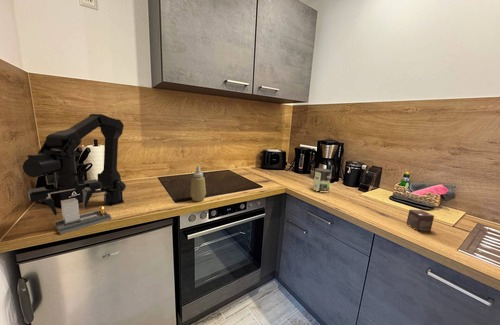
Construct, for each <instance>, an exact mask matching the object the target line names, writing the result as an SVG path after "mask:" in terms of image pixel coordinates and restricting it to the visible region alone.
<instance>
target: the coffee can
mask: <svg viewBox="0 0 500 325" xmlns="http://www.w3.org/2000/svg"><path fill="white" fill-rule="evenodd" d="M332 172H333V171H332V169H329V168H323V167H319V168H318V167H317V168H314V178H313V185H312V190H313V189H315V190H318V191H329V192H330V184H331V178H332Z"/></svg>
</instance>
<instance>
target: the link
mask: <svg viewBox="0 0 500 325" xmlns="http://www.w3.org/2000/svg"><path fill="white" fill-rule="evenodd" d="M60 206H61V214H62V220H63V222H64V224H65V225H66V226H67V225H71V224H74V223H78V222H82V221H85V220H89V219H92V218H96V217H97V215H96V214H95V215H94V212H95V211H90V212H86V213H82V214H80V208H79V200H78V199H77V198H76V197H73V198H68V199H63V200H60Z"/></svg>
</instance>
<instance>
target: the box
mask: <svg viewBox="0 0 500 325" xmlns="http://www.w3.org/2000/svg"><path fill="white" fill-rule="evenodd" d="M434 219H435V215H433V214H431V213H429V212H427V211H425V210H423V209H409V211H408V215H407V218H406V223H407V224H408V225H410V226H411V227H413V228H415V229H416V230H420V231H419V232H431V230H432V226H433V223H434ZM408 225H407V226H408ZM410 226H409V227H410ZM411 227H410V228H411ZM413 228H412V229H413ZM415 229H414V230H415ZM416 230H415V231H416Z"/></svg>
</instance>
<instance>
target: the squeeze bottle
mask: <svg viewBox="0 0 500 325" xmlns="http://www.w3.org/2000/svg"><path fill="white" fill-rule="evenodd" d="M205 179H206V178H205V177H204V173H203V172H201V166H200V165H198V166H196V170H195V172H193V176H192V177H191V182H190V183H191V184H190V193H189V195H190V197H191V200H192V201H193V202H203V201H204V200H205V197H206V195H207V189H206V187H207V186H206V180H205Z"/></svg>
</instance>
